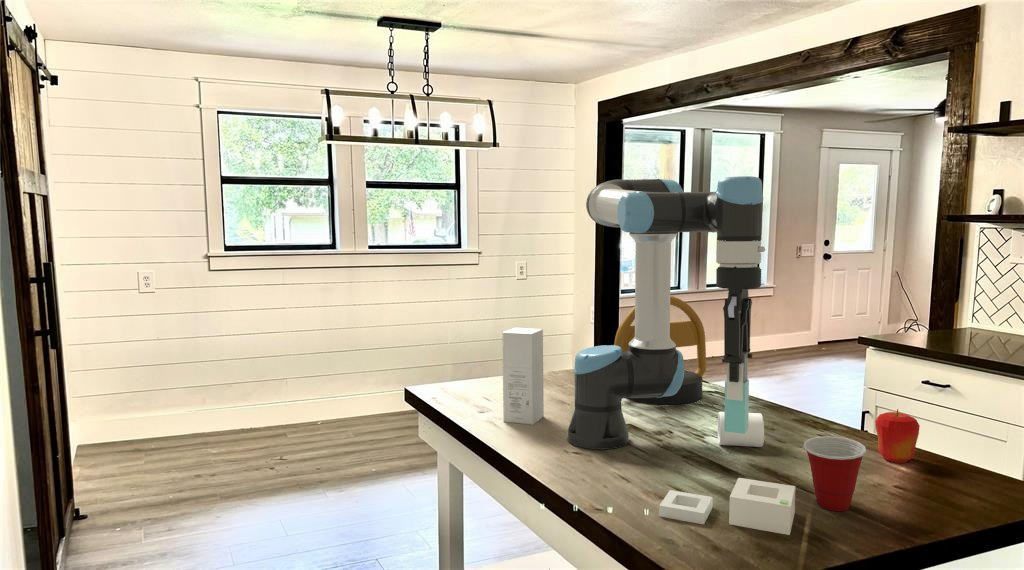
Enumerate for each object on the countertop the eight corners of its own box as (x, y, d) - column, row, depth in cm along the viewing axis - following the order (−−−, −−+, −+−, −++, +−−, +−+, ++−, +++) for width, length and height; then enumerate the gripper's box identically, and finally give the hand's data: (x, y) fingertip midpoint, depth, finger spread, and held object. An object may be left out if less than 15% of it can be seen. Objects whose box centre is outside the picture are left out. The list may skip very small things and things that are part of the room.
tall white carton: (544, 416, 195) (543, 328, 192) (533, 425, 186) (532, 333, 184) (515, 413, 198) (514, 327, 196) (503, 421, 190) (501, 332, 188)
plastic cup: (790, 503, 133) (791, 442, 132) (821, 490, 139) (823, 432, 138) (844, 522, 124) (846, 458, 123) (875, 508, 130) (877, 446, 129)
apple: (925, 462, 155) (928, 410, 154) (902, 468, 151) (904, 415, 150) (889, 451, 162) (891, 401, 161) (866, 456, 159) (868, 406, 158)
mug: (763, 451, 163) (764, 418, 163) (720, 449, 165) (720, 416, 165) (756, 436, 175) (757, 405, 174) (715, 434, 177) (716, 403, 176)
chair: (593, 392, 221) (593, 294, 218) (682, 381, 235) (683, 289, 232) (637, 411, 199) (638, 302, 196) (732, 397, 213) (734, 296, 210)
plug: (724, 431, 123) (725, 353, 122) (728, 426, 126) (729, 350, 125) (744, 433, 121) (745, 355, 120) (748, 428, 124) (749, 351, 123)
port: (729, 529, 122) (729, 494, 122) (737, 508, 131) (738, 476, 130) (789, 540, 118) (790, 504, 117) (794, 517, 127) (795, 484, 126)
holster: (659, 521, 126) (659, 505, 125) (669, 505, 133) (670, 490, 133) (703, 529, 122) (704, 513, 122) (712, 512, 129) (712, 497, 129)
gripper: (752, 268, 112) (750, 410, 114) (768, 263, 127) (766, 389, 128) (706, 267, 116) (704, 405, 117) (726, 263, 130) (725, 385, 132)
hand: (737, 396), depth 123 cm, fingers closed on plug, 3 cm apart
